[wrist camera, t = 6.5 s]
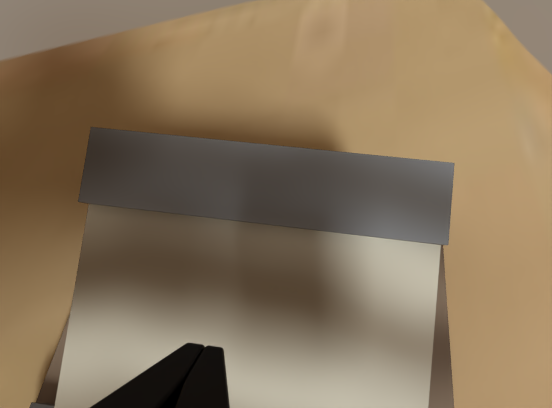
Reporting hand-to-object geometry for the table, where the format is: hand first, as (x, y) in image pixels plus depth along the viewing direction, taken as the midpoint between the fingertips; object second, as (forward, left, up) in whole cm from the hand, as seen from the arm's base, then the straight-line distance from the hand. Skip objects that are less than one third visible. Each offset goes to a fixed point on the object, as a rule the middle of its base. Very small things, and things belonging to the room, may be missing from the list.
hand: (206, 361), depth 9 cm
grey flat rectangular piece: (+2, +2, -7) cm, 8 cm away
